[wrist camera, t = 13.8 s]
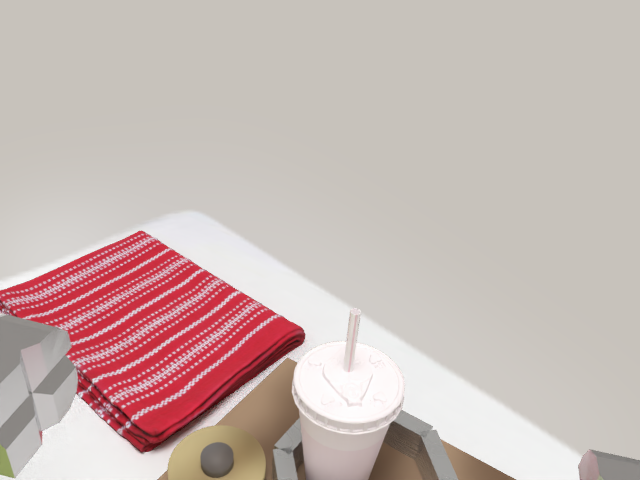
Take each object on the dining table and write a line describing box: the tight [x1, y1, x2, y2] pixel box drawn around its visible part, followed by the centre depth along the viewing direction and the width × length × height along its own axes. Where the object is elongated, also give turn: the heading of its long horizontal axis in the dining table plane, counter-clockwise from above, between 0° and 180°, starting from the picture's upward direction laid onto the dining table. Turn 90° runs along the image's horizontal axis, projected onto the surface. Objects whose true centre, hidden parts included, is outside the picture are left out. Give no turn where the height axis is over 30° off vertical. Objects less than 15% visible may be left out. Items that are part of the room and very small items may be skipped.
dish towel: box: [0, 231, 305, 452], centre depth 52 cm, size 17×24×3 cm
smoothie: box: [292, 308, 405, 480], centre depth 35 cm, size 6×6×14 cm
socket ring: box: [272, 410, 458, 480], centre depth 38 cm, size 11×11×2 cm
